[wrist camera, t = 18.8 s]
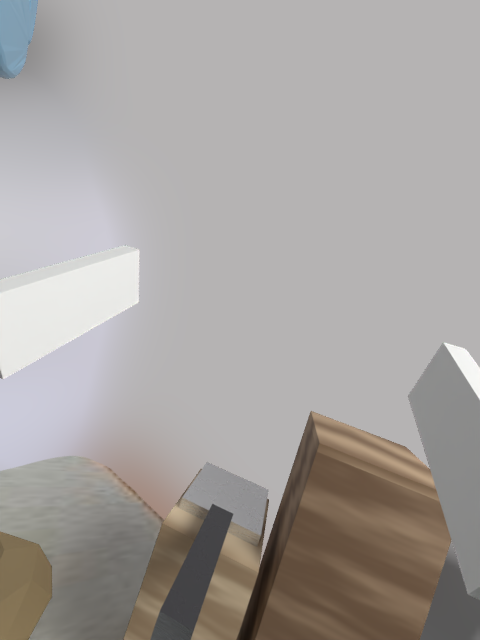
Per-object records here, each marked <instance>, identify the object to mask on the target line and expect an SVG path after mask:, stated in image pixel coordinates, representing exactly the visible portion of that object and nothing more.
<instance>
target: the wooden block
mask: <svg viewBox="0 0 480 640" xmlns="http://www.w3.org/2000/svg"><path fill="white" fill-rule="evenodd" d="M450 543H451V537H450V533H449V530H448V527H447V523H446V520H445V517H444V514H443V510H442V507H441V504H440V500H439V497H438V494H437V490H436V487H435V484H434V481H433V477H432V474H431V471H430V469H429V468H428V467H427V466H426V465H425V464H423V462H421V461H420V460H419V459H418V458H417V457H416V456H415V455H414V454H413V453H412V452H411V451H410V450H409V449H407V448H406V447H405V446H402V445H400V444H397V443H394V442H392V441H389V440H386V439H384V438H381V437H378V436H376V435H373V434H370V433H368V432H365V431H363V430H360V429H357V428H355V427H352V426H349V425H347V424H344V423H341V422H339V421H336V420H333V419H331V418H328V417H326V416H323V415H320V414H318V413H315V412H312V411H311V412H310V415H309V418H308V421H307V424H306V427H305V430H304V433H303V436H302V439H301V442H300V446H299V448H298V452H297V455H296V458H295V461H294V464H293V467H292V470H291V473H290V476H289V479H288V482H287V485H286V488H285V491H284V494H283V497H282V500H281V503H280V506H279V509H278V512H277V515H276V518H275V521H274V524H273V528H272V531H271V534H270V537H269V540H268V543H267V546H266V549H265V552H264V555H263V558H262V561H261V564H260V567H259V573H258V576H257V579H256V582H255V585H254V588H253V591H252V594H251V597H250V600H249V603H248V606H247V609H246V612H245V615H244V618H243V621H242V624H241V627H240V631H239V634H238V637H237V640H420V637H421V634H422V631H423V628H424V624H425V621H426V618H427V615H428V612H429V609H430V606H431V602H432V599H433V596H434V593H435V590H436V587H437V584H438V581H439V577H440V574H441V571H442V568H443V565H444V562H445V559H446V555H447V552H448V549H449V546H450Z"/></svg>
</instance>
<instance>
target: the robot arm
mask: <svg viewBox="0 0 480 640" xmlns="http://www.w3.org/2000/svg"><path fill="white" fill-rule="evenodd" d="M37 4H38V0H0V77H2V78H5V79H9V78H14V77H16V76H17V75H18V74H19V73H20V71H21V70H22V68H23V66H24V64H25V60H26V55H27V49H28V48H27V47H28V45H29V44H30V42H31V39H32V35H33V30H34V25H35V18H36V11H37ZM138 302H139V249H136V248H132V247H129V246H126V245H124V246H121V247H117V248H113V249H110V250H106V251H102V252H99V253H95V254H91V255H88V256H84V257H80V258H77V259H73V260H69V261H66V262H62V263H58V264H55V265H51V266H47V267H44V268H40V269H36V270H33V271H29V272H25V273H22V274H19V275H15V276H11V277H7V278H3V279H0V378H1V379H5V378H6V377H8V376H10V375H12V374H13V373H15V372H17V371H19V370H20V369H22V368H24V367H26V366H28V365H29V364H31V363H33V362H34V361H36V360H38V359H40V358H42V357H43V356H45V355H47V354H49V353H50V352H52V351H54V350H56V349H57V348H59V347H61V346H63V345H64V344H66V343H68V342H70V341H71V340H73V339H75V338H77V337H78V336H80V335H82V334H84V333H86V332H87V331H89V330H91V329H93V328H94V327H96V326H98V325H100V324H101V323H103V322H105V321H107V320H108V319H110V318H112V317H114V316H115V315H117V314H119V313H121V312H122V311H124V310H126V309H128V308H129V307H131V306H133V305H135V304H137V303H138ZM408 398H409V401H410V404H411V408H412V411H413V414H414V417H415V421H416V424H417V428H418V431H419V434H420V438H421V441H422V444H423V447H424V451H425V454H426V457H427V461H428V464H429V467H430V471H431V474H432V477H433V481H434V484H435V487H436V490H437V494H438V497H439V500H440V504H441V507H442V510H443V514H444V517H445V520H446V523H447V527H448V530H449V533H450V537H451V540H452V543H453V547H454V550H455V553H456V557H457V560H458V563H459V566H460V570H461V573H462V576H463V580H464V583H465V586H466V589H467V593H468V595H471V596H473V597H475V598H477V599H479V600H480V368H479V366H478V365H477V364H476V362H475V361H474V360H473V358H472V357H471V355H470V354H469V353H468V351H467V350H466V349H464V348H461V347H458V346H454V345H451V344H448V343H444V342H443V343H442V345H441V346H440V348H439V349H438V351H437V353H436V354H435V355H434V357H433V359H432V360H431V362H430V363H429V365H428V366H427V368H426V369H425V371H424V372H423V374H422V375H421V377H420V379H419V380H418V382H417V383H416V385H415V386H414V388H413V389H412V391H411V392H410V394H409V395H408Z"/></svg>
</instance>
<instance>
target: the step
mask: <svg viewBox="0 0 480 640" xmlns="http://www.w3.org/2000/svg"><path fill="white" fill-rule="evenodd" d="M201 470H202V469H201ZM201 470H200V471H201ZM200 471H199V472H198V474H199V473H200ZM198 474H197V475H196V477H197V476H198ZM196 477H195V478H194V479H193V481H194V480H195V479H196ZM193 481H192V482H191V484H192V483H193ZM191 484H190V485H189V486H188V488H189V487H190V486H191ZM188 488H187V489H186V491H187V490H188ZM186 491H185V492H184V493H183V495H182V496H181V498H180V499H179V501H178V502H177V503H176V505H175V506H174V508H173V509H172V511H171V512H170V513H169V514H168V516H167V517H166V519H165V520H164V521H163V523H162V526H161V529H160V532H159V535H158V538H157V541H156V544H155V546H154V549H153V552H152V555H151V558H150V561H149V564H148V567H147V570H146V573H145V576H144V579H143V582H142V585H141V588H140V591H139V594H138V597H137V600H136V603H135V606H134V609H133V612H132V615H131V618H130V621H129V624H128V627H127V630H126V633H125V636H124V639H123V640H150V639H151V636H152V633H153V630H154V627H155V624H156V621H157V618H158V615H159V612H160V609H161V607H162V605H163V603H164V601H165V599H166V597H167V595H168V593H169V591H170V589H171V587H172V585H173V583H174V581H175V579H176V577H177V575H178V573H179V571H180V569H181V567H182V565H183V563H184V561H185V559H186V556H187V554H188V552H189V550H190V548H191V546H192V544H193V542H194V540H195V538H196V536H197V534H198V532H199V530H200V528H201V526H202V524H203V522H204V520H202V519H200V518H198V517H196V516H194V515H192V514H190V513H188V512H186V511H184V510H182V509H180V508H179V506H180V503H181V500H182V497H183V496H184V494H185V493H186ZM268 503H269V499H267V501H266V508H265V514H264V520H263V526H262V533H261V537H260V540H259V543H258V546H257V547H256V546H254V545H252V544H250V543H248V542H246V541H244V540H242V539H240V538H238V537H236V536H234V535H232V534H230V533H228V532H227V535H226V538H225V541H224V543H223V546H222V549H221V552H220V555H219V558H218V561H217V564H216V567H215V570H214V573H213V576H212V579H211V582H210V585H209V588H208V591H207V594H206V597H205V599H204V602H203V605H202V608H201V611H200V614H199V617H198V620H197V623H196V626H195V629H194V632H193V635H192V638H191V640H237V637H238V634H239V631H240V627H241V624H242V621H243V618H244V615H245V612H246V609H247V606H248V603H249V600H250V597H251V594H252V591H253V588H254V585H255V582H256V579H257V576H258V573H259V566H260V559H261V552H262V545H263V538H264V531H265V524H266V517H267V511H268Z"/></svg>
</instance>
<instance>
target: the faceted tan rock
mask: <svg viewBox="0 0 480 640" xmlns="http://www.w3.org/2000/svg"><path fill="white" fill-rule="evenodd" d="M51 597H52V566H51V565H50V563H49V561H48V559H47V558H46V556H45V554H44V553H43V551H42V549H41V547H40V546H39V544H36V543H33V542H30V541H27V540H24V539H21V538H18V537H15V536H12V535H9V534H6V533H3V532H0V640H28V639H29V637H30V635H31V633H32V632H33V630H34V628H35V626H36V624H37V623H38V621H39V619H40V617H41V615H42V614H43V612H44V610H45V608H46V606H47V605H48V603H49V601H50V599H51Z"/></svg>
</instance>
